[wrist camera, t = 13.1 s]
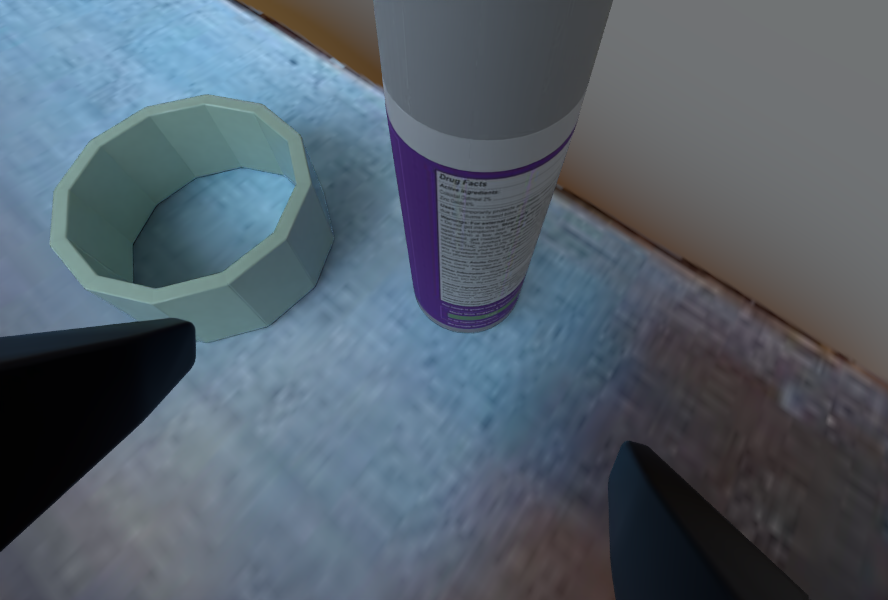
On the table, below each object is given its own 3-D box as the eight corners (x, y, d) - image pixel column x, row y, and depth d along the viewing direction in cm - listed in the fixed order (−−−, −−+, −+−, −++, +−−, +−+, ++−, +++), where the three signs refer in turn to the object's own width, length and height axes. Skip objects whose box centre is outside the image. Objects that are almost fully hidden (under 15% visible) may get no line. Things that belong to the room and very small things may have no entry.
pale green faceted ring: (374, 238, 21) (358, 181, 18) (198, 386, 18) (137, 355, 15) (249, 131, 24) (214, 64, 20) (80, 245, 21) (4, 191, 18)
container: (408, 244, 21) (338, -238, 8) (508, 233, 21) (617, -256, 8) (419, 340, 19) (349, -77, 6) (529, 326, 19) (722, -107, 6)
